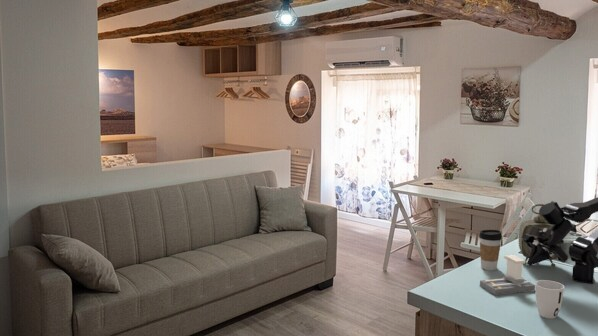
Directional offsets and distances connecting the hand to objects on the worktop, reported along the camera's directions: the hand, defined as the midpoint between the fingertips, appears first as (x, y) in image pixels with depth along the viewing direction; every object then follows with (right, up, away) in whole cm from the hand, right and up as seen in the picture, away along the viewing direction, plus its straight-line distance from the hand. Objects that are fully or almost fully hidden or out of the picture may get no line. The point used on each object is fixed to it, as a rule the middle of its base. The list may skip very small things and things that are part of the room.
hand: (528, 264), depth 187 cm
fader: (-6, -5, -1) cm, 8 cm away
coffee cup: (-7, -5, +20) cm, 22 cm away
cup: (-4, -12, -23) cm, 26 cm away
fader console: (-8, -8, -1) cm, 12 cm away
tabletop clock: (+14, -5, +24) cm, 28 cm away
